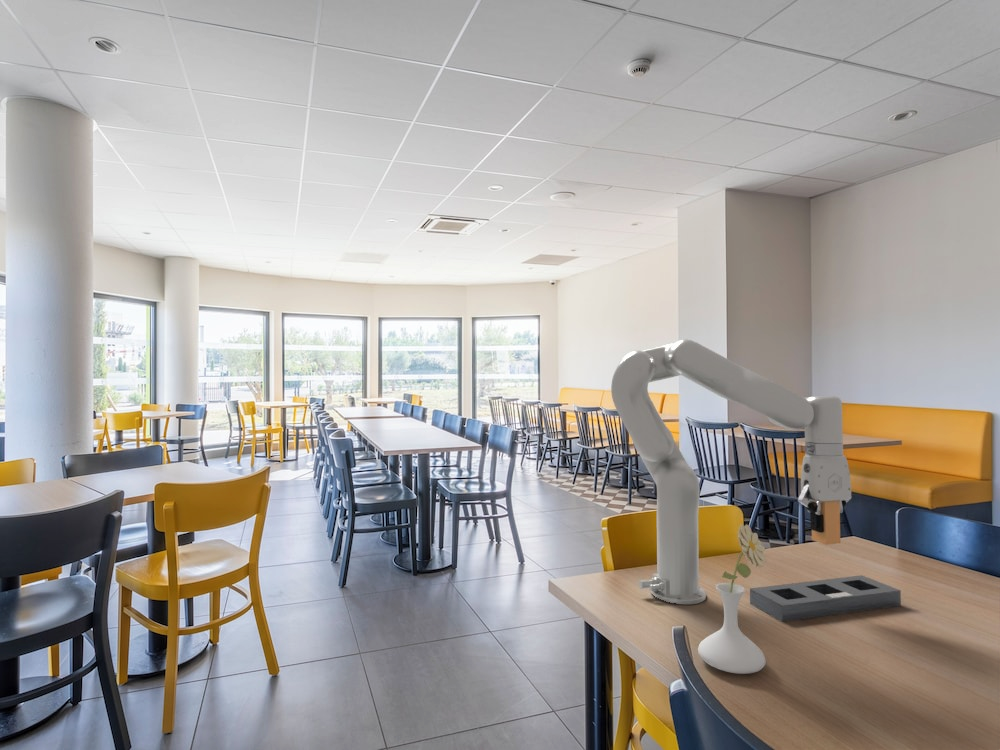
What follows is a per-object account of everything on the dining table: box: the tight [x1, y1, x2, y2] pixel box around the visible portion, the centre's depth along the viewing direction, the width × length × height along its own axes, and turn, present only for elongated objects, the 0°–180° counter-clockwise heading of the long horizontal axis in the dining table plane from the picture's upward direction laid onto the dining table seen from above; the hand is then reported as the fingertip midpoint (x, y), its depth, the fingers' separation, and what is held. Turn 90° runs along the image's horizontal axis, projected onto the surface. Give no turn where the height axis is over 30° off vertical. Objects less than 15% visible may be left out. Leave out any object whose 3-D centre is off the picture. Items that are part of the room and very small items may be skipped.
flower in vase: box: [697, 523, 768, 675], centre depth 101 cm, size 13×11×25 cm
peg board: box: [749, 574, 902, 623], centre depth 127 cm, size 32×10×4 cm, turn 105°
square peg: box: [811, 501, 842, 546], centre depth 127 cm, size 4×4×10 cm
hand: (825, 529), depth 127 cm, fingers closed on square peg, 4 cm apart
